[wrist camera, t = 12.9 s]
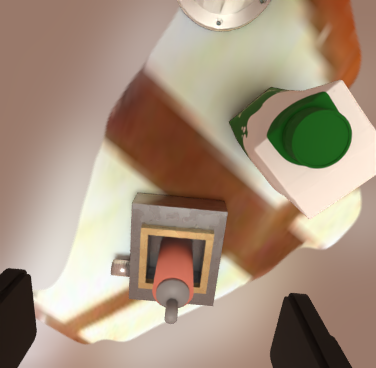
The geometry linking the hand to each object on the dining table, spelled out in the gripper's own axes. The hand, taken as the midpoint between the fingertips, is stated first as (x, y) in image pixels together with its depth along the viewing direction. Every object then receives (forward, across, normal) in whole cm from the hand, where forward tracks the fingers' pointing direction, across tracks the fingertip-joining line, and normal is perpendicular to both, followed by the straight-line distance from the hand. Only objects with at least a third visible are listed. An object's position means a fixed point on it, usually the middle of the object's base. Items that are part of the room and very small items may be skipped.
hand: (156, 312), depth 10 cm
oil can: (+29, 0, +16) cm, 33 cm away
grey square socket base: (+30, +1, +16) cm, 34 cm away
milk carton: (+31, -11, -4) cm, 33 cm away
